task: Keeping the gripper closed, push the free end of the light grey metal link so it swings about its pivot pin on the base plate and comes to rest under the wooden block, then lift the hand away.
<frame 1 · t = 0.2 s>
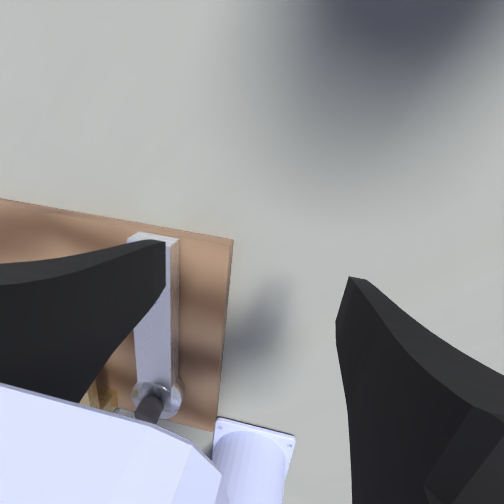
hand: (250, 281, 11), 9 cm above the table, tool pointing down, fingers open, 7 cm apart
wooden block: (86, 389, 26), point 3 cm above the table
grey link: (156, 338, 23), point 2 cm above the table, hinge at 0.0°
base plate: (117, 321, 26), on the table
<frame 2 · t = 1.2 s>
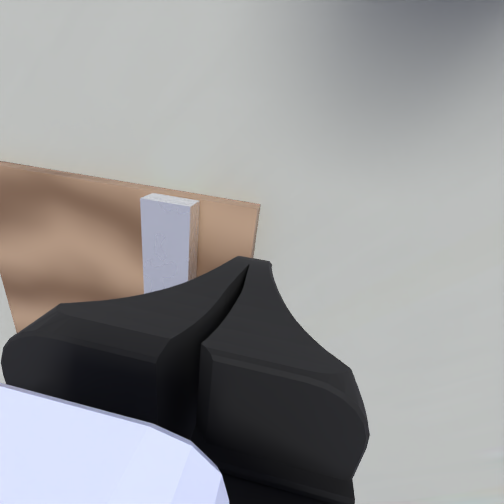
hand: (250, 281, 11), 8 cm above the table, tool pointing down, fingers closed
grey link: (170, 318, 20), point 2 cm above the table, hinge at 0.0°
base plate: (124, 303, 23), on the table
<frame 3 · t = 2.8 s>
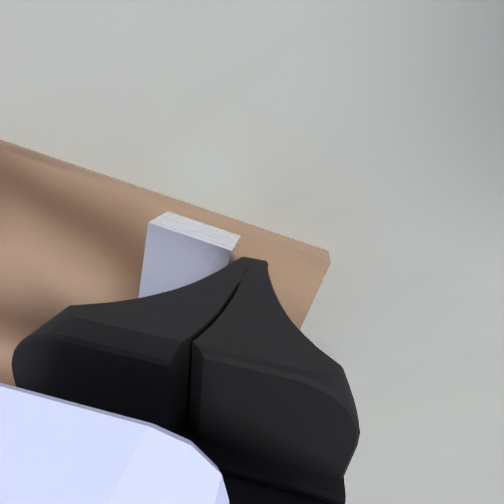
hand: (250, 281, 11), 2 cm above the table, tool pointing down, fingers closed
grey link: (163, 387, 14), point 2 cm above the table, hinge at 0.3°, touching gripper
base plate: (99, 342, 17), on the table
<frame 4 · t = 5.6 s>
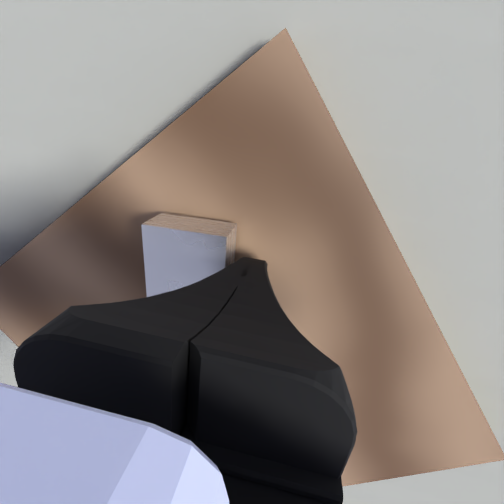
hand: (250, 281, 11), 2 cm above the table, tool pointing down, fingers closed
grey link: (191, 393, 14), point 2 cm above the table, hinge at 51.7°, touching gripper
base plate: (221, 353, 15), on the table
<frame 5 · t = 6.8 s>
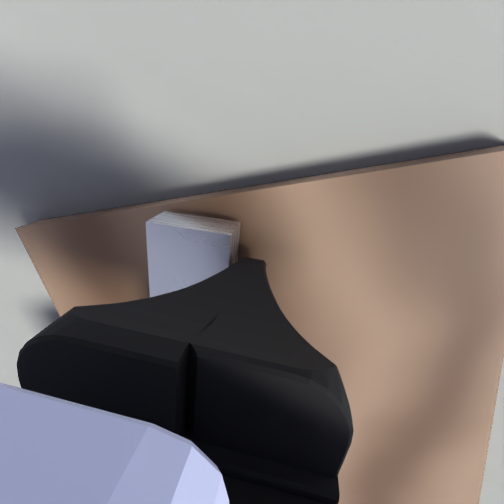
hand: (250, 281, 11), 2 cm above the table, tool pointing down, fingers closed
grey link: (192, 392, 14), point 2 cm above the table, hinge at 73.7°, touching gripper
base plate: (267, 373, 15), on the table
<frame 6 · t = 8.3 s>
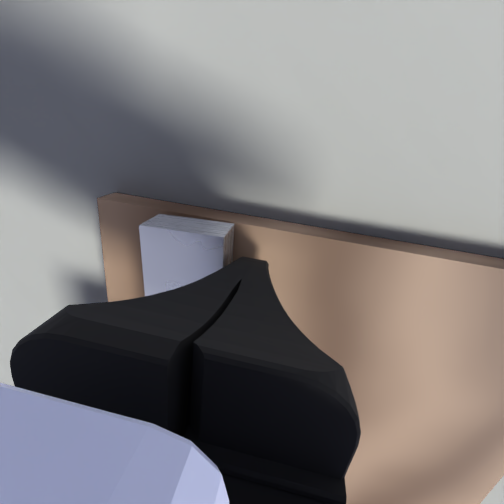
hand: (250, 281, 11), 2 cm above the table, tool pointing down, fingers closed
grey link: (190, 394, 14), point 2 cm above the table, hinge at 92.4°, touching gripper
base plate: (296, 400, 16), on the table
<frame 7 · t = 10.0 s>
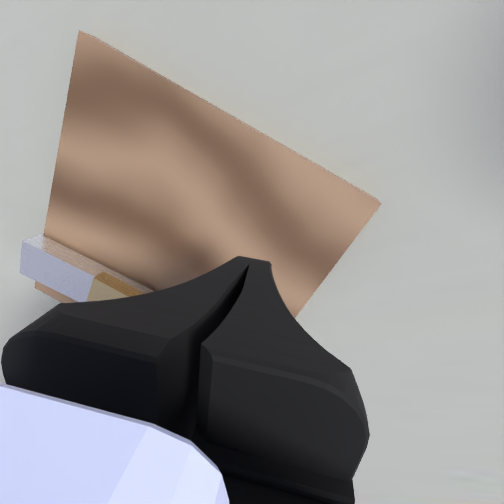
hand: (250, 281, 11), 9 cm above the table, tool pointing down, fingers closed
wooden block: (119, 312, 22), point 3 cm above the table
grey link: (130, 303, 22), point 2 cm above the table, hinge at 92.5°
base plate: (181, 247, 22), on the table
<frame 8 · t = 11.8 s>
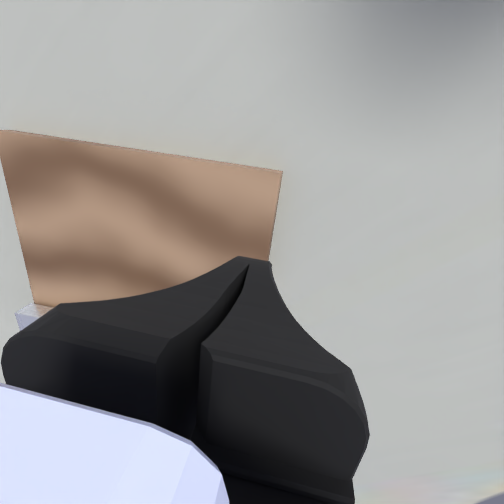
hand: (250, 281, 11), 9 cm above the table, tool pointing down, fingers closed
grey link: (116, 339, 24), point 2 cm above the table, hinge at 92.5°
base plate: (143, 276, 24), on the table
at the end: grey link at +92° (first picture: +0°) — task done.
